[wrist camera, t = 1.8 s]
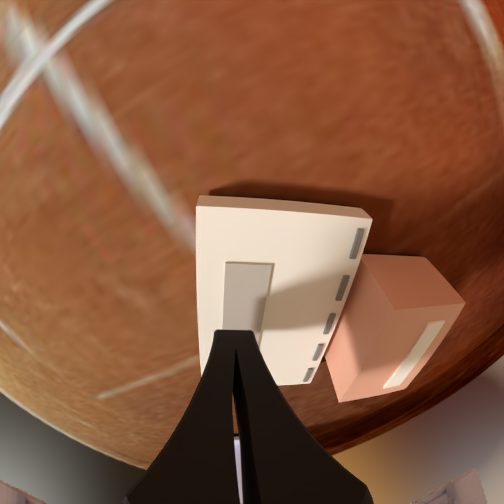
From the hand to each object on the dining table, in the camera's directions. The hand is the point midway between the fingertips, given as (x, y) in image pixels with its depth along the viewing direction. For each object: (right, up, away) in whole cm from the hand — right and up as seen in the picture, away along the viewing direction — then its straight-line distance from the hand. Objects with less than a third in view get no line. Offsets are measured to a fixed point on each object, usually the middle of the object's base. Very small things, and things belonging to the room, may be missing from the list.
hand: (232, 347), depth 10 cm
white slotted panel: (+1, +1, +2) cm, 3 cm away
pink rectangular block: (+7, +1, +3) cm, 7 cm away
